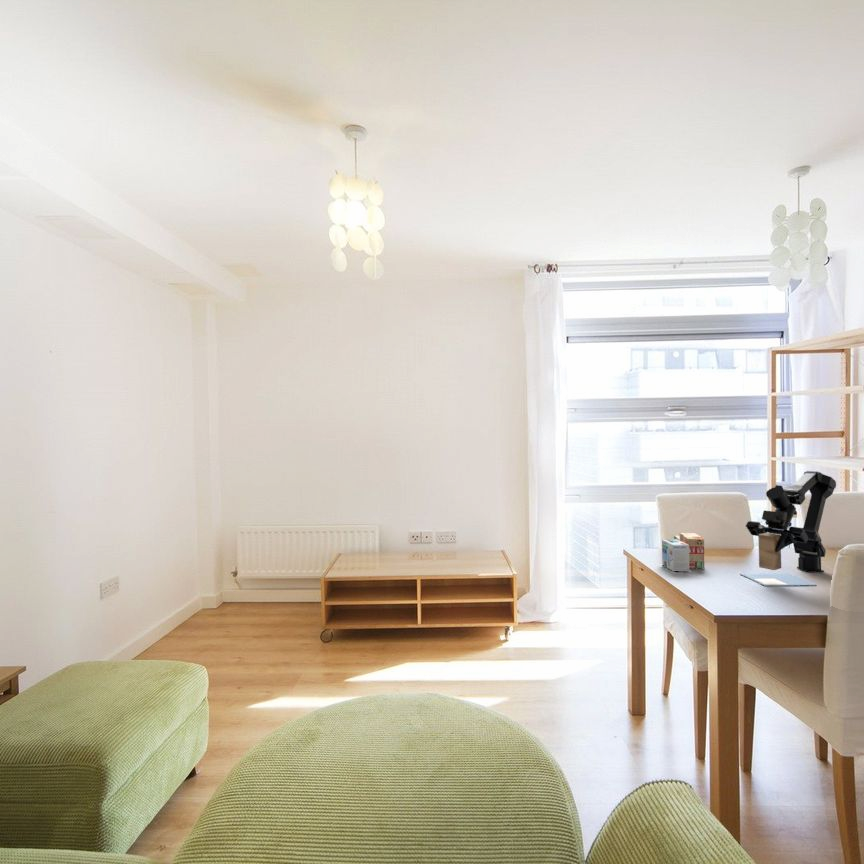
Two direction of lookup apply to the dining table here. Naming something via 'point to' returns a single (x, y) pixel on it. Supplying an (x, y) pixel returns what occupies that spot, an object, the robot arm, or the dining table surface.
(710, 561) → the dining table surface
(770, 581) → the board
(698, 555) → the stack of blocks
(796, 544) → the robot arm
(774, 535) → the walnut column
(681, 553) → the light bulb box
